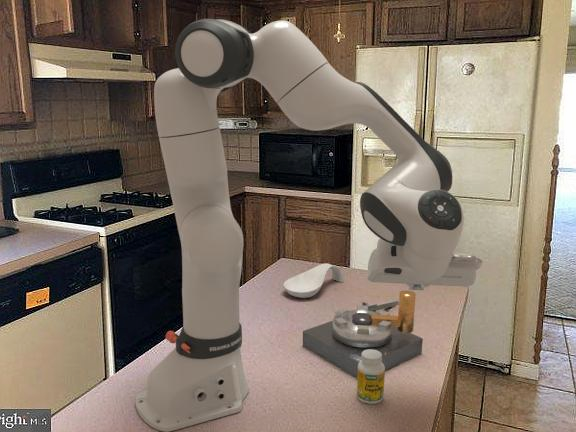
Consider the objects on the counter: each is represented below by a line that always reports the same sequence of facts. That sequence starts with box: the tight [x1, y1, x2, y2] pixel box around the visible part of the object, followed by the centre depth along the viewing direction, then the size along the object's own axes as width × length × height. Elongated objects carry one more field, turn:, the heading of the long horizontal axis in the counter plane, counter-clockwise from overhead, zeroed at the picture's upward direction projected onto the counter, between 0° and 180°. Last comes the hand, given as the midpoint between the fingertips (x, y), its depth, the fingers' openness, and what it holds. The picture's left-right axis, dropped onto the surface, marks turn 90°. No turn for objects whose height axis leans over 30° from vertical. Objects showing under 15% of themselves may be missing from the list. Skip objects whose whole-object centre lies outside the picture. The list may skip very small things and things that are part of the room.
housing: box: [302, 320, 424, 379], centre depth 123 cm, size 20×20×4 cm
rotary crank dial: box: [332, 290, 417, 348], centre depth 121 cm, size 19×14×11 cm
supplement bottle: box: [356, 349, 386, 405], centre depth 103 cm, size 5×5×10 cm
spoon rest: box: [282, 263, 345, 299], centre depth 161 cm, size 24×12×7 cm, turn 137°
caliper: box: [361, 299, 399, 312], centre depth 144 cm, size 20×1×6 cm, turn 139°
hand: (415, 286), depth 105 cm, fingers closed
